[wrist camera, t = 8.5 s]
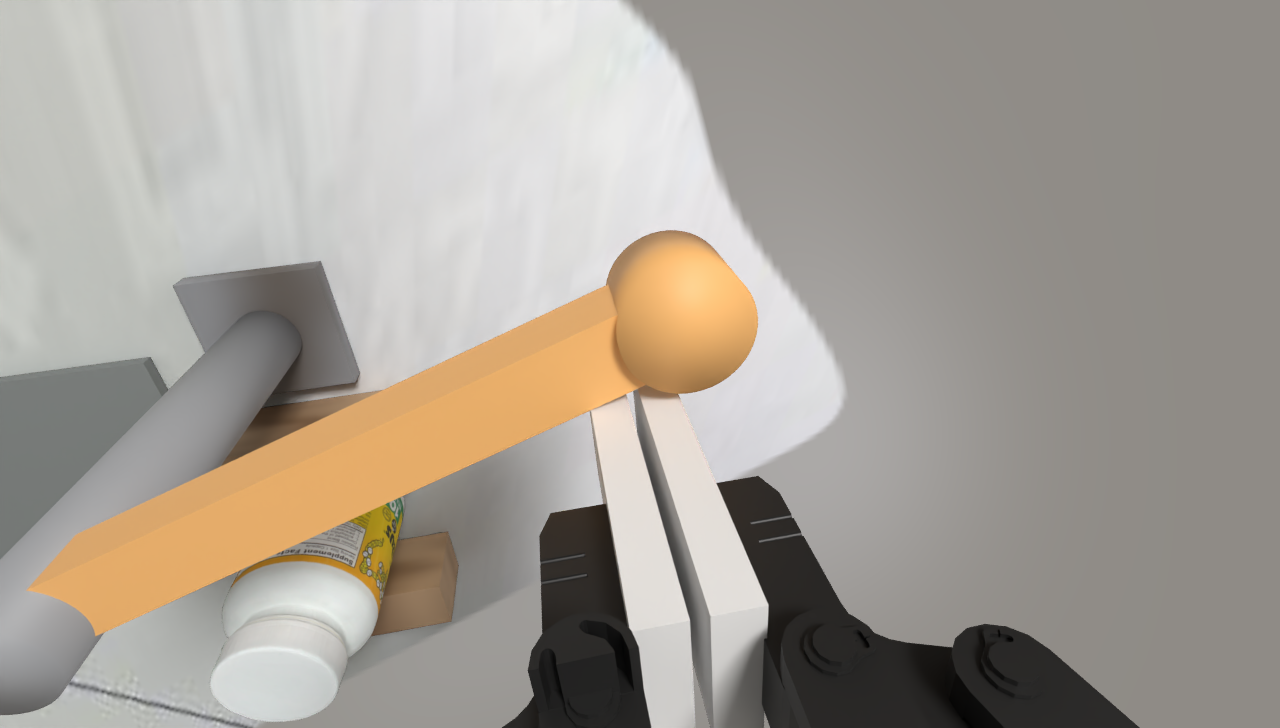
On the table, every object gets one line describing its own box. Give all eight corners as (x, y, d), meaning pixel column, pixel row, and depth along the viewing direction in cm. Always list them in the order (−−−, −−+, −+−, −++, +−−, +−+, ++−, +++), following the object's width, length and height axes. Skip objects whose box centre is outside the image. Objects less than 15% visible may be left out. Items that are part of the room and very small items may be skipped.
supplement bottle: (300, 438, 27) (200, 619, 19) (421, 470, 29) (379, 648, 21) (273, 525, 29) (171, 724, 21) (388, 550, 31) (337, 742, 23)
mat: (21, 577, 28) (13, 586, 28) (-130, 395, 23) (-143, 402, 23) (248, 539, 29) (244, 547, 29) (150, 357, 24) (143, 362, 24)
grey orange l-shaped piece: (650, 193, 23) (788, 376, 11) (264, 377, 24) (-3, 732, 12) (623, 127, 22) (744, 251, 10) (216, 325, 23) (-137, 662, 11)
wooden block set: (300, 593, 31) (275, 653, 28) (141, 283, 23) (82, 322, 20) (458, 565, 32) (451, 621, 29) (360, 256, 24) (336, 289, 21)
